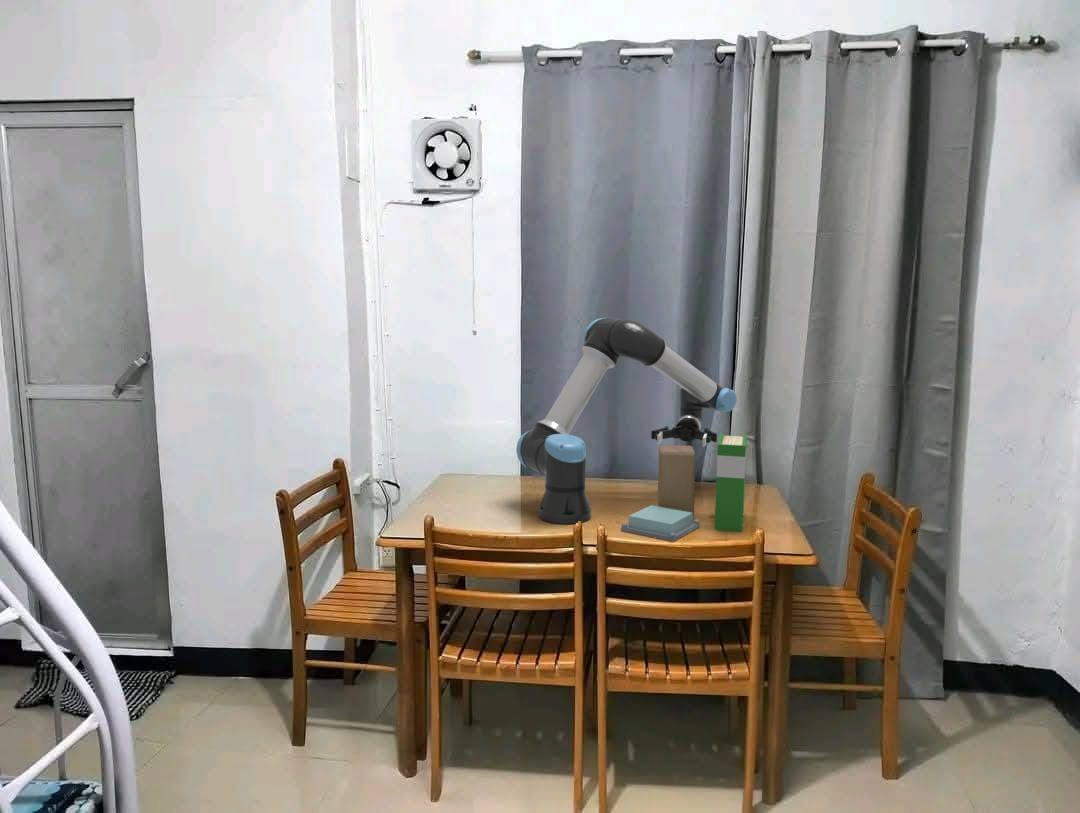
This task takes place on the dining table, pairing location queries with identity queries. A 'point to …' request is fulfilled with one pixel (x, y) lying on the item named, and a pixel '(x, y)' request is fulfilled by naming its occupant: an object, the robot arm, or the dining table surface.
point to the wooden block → (676, 477)
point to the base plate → (661, 523)
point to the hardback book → (730, 482)
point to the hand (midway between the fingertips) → (681, 441)
